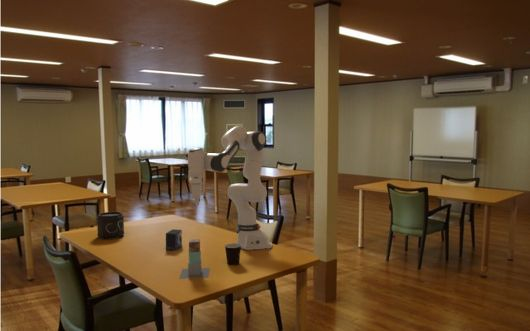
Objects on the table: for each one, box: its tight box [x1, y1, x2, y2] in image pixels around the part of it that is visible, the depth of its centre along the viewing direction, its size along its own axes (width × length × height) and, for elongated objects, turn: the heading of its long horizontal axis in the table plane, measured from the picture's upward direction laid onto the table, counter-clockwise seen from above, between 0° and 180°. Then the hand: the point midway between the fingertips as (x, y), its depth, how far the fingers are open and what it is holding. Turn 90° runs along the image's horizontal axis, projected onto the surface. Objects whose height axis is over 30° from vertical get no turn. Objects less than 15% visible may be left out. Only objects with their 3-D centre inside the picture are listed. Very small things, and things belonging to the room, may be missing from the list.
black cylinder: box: [96, 211, 125, 240], centre depth 274 cm, size 18×18×16 cm
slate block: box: [187, 261, 203, 275], centre depth 200 cm, size 6×6×6 cm
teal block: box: [188, 250, 202, 264], centre depth 200 cm, size 6×6×6 cm
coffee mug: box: [224, 242, 242, 266], centre depth 216 cm, size 12×9×10 cm
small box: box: [165, 229, 183, 251], centre depth 245 cm, size 11×6×10 cm, turn 168°
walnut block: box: [188, 238, 201, 253], centre depth 199 cm, size 5×5×5 cm
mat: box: [178, 267, 211, 280], centre depth 200 cm, size 14×14×1 cm
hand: (197, 203), depth 217 cm, fingers open, 8 cm apart
